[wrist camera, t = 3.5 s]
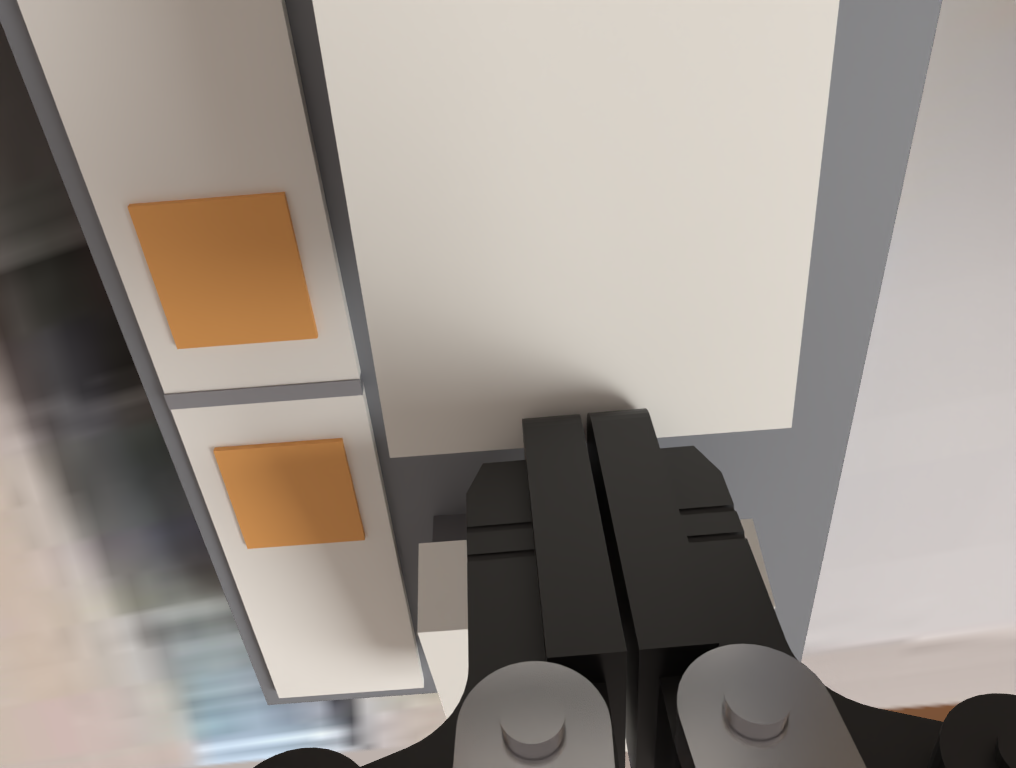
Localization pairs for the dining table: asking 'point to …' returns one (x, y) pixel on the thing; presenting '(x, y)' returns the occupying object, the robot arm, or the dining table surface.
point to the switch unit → (343, 326)
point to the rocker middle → (579, 207)
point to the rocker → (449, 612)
